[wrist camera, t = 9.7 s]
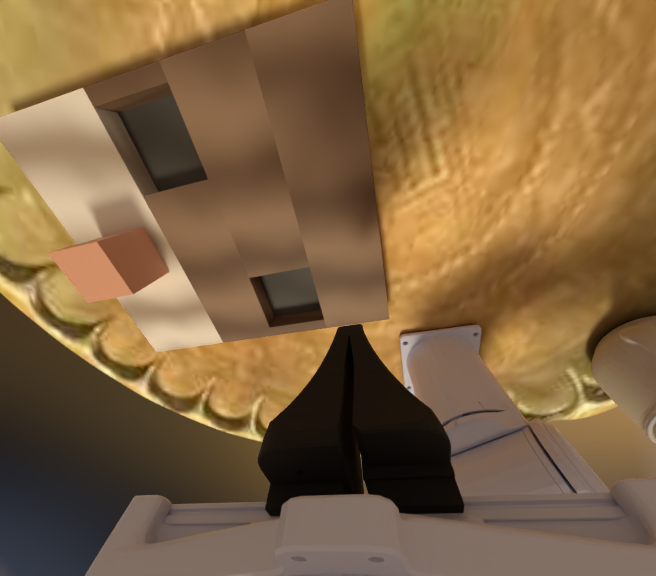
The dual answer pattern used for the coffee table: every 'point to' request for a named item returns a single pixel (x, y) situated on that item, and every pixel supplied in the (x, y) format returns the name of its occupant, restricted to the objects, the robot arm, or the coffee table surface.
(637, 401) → the teacup
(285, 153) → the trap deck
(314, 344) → the coffee table surface
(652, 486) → the robot arm
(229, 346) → the coffee table surface
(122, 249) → the block
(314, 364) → the coffee table surface
